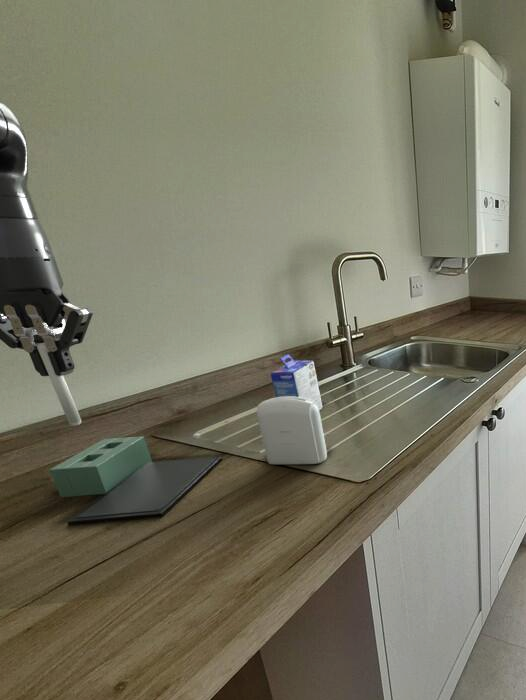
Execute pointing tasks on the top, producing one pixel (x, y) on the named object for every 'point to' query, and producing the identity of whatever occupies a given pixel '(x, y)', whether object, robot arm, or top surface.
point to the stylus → (60, 388)
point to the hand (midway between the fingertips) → (57, 374)
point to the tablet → (147, 491)
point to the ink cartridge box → (296, 380)
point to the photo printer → (291, 430)
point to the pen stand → (100, 466)
